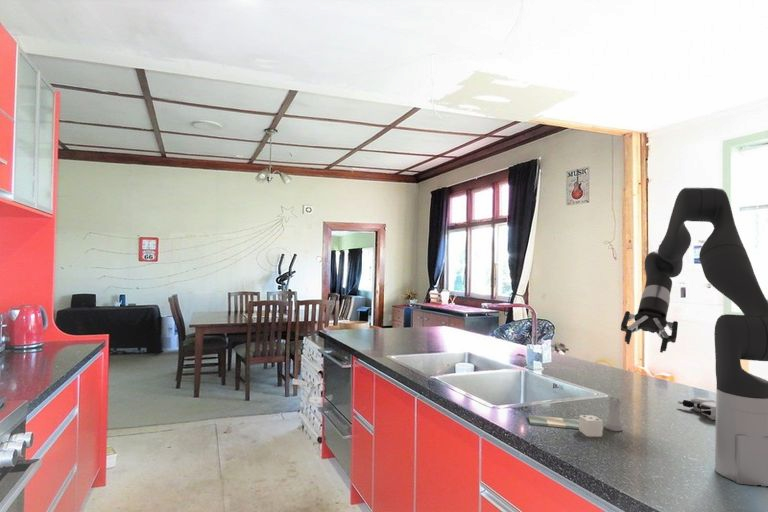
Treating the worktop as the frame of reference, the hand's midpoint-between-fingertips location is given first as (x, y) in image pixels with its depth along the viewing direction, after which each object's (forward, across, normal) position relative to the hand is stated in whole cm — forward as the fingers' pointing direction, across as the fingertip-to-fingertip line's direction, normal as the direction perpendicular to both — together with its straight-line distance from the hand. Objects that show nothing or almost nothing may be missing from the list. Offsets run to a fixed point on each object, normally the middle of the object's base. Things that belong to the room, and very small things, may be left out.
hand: (644, 346), depth 133 cm
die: (+32, -7, -3) cm, 33 cm away
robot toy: (+3, +20, +23) cm, 31 cm away
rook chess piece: (+26, -3, +2) cm, 27 cm away
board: (+30, -14, 0) cm, 34 cm away
